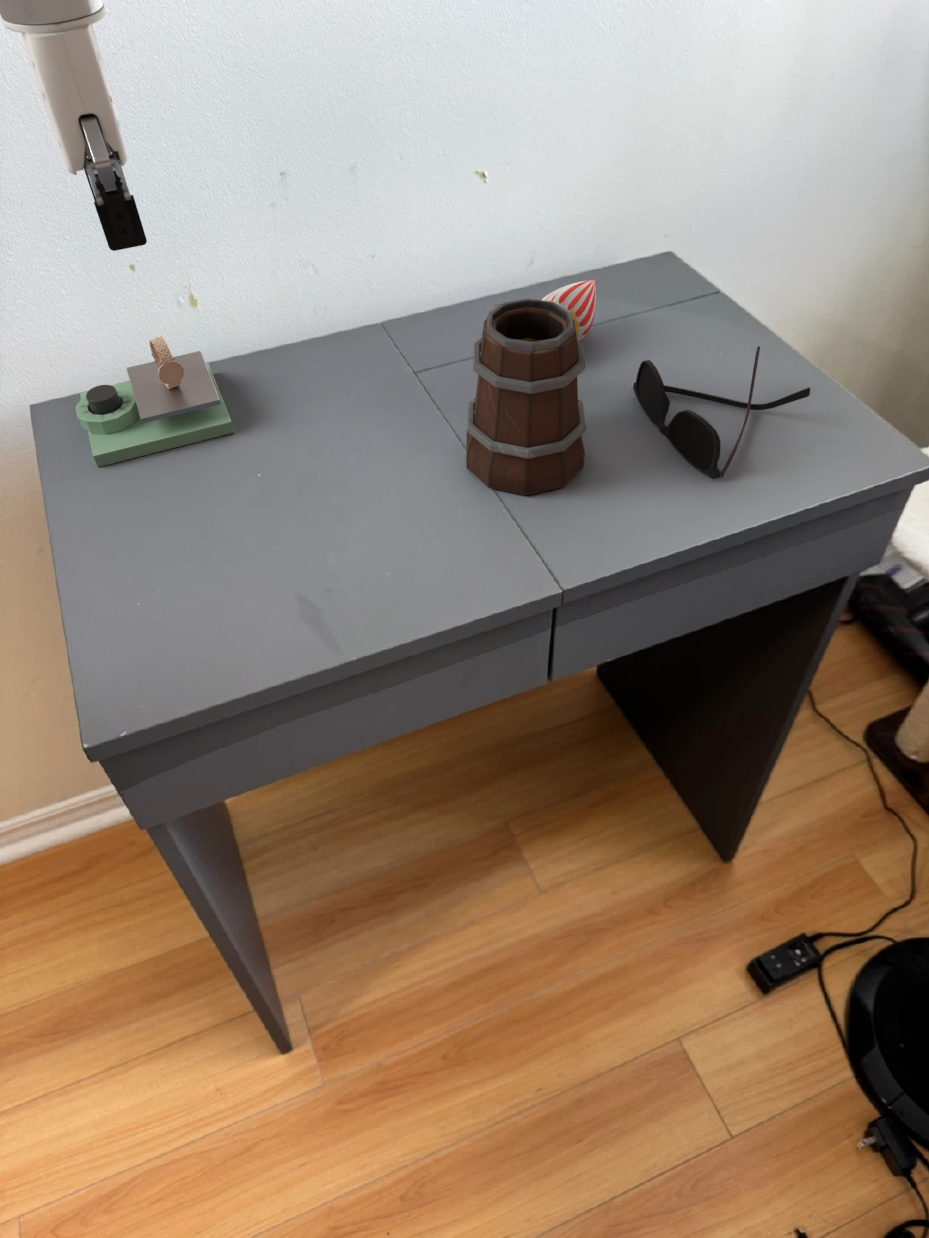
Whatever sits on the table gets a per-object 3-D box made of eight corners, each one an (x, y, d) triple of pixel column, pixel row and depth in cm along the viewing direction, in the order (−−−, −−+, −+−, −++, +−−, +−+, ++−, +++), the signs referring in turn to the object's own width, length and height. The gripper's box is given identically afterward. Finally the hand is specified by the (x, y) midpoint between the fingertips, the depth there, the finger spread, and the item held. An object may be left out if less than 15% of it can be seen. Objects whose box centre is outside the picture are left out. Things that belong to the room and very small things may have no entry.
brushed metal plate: (142, 423, 88) (140, 418, 87) (127, 372, 94) (126, 367, 93) (221, 404, 89) (219, 399, 89) (202, 355, 96) (200, 350, 95)
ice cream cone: (497, 421, 99) (588, 308, 105) (534, 415, 93) (627, 296, 100) (465, 378, 95) (561, 264, 102) (502, 369, 90) (600, 250, 97)
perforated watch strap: (166, 398, 89) (152, 355, 86) (152, 376, 92) (138, 333, 88) (191, 390, 90) (178, 347, 86) (177, 368, 93) (164, 325, 89)
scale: (93, 468, 88) (82, 444, 86) (79, 404, 95) (69, 380, 93) (234, 432, 91) (228, 408, 89) (211, 373, 99) (204, 349, 96)
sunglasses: (829, 452, 87) (844, 409, 83) (701, 486, 84) (711, 444, 80) (738, 364, 97) (748, 323, 94) (622, 392, 94) (627, 351, 91)
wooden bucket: (602, 479, 85) (619, 341, 74) (484, 506, 83) (483, 368, 71) (544, 391, 95) (551, 257, 83) (438, 413, 93) (430, 279, 81)
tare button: (93, 418, 89) (87, 404, 88) (90, 403, 91) (84, 388, 89) (123, 411, 90) (117, 397, 88) (119, 396, 91) (113, 381, 90)
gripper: (-10, -24, 70) (68, 194, 83) (2, 35, 59) (89, 275, 72) (86, -36, 72) (147, 179, 85) (114, 20, 61) (180, 256, 74)
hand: (120, 223), depth 79 cm, fingers open, 9 cm apart
